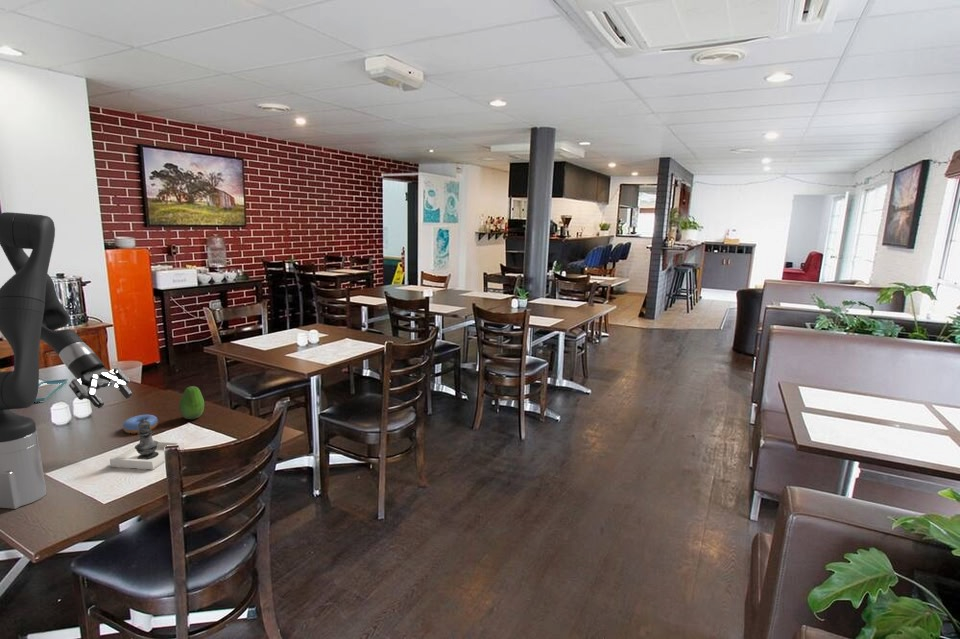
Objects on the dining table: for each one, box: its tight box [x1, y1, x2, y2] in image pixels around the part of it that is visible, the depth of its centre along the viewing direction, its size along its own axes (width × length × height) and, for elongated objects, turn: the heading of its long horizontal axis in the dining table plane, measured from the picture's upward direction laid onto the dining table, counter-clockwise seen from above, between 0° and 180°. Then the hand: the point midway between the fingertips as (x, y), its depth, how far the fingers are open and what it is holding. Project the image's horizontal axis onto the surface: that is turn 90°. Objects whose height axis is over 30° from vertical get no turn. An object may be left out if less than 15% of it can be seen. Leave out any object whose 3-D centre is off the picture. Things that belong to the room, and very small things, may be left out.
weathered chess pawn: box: [135, 418, 159, 460], centre depth 147 cm, size 6×6×12 cm
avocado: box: [178, 385, 205, 420], centre depth 177 cm, size 8×8×12 cm
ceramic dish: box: [109, 439, 185, 471], centre depth 148 cm, size 13×13×2 cm
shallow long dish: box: [35, 378, 69, 402], centre depth 201 cm, size 26×9×2 cm, turn 24°
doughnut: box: [122, 414, 159, 435], centre depth 168 cm, size 10×10×5 cm
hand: (116, 401), depth 147 cm, fingers open, 8 cm apart
